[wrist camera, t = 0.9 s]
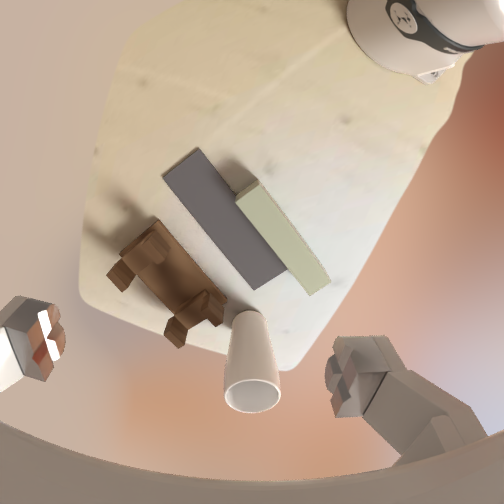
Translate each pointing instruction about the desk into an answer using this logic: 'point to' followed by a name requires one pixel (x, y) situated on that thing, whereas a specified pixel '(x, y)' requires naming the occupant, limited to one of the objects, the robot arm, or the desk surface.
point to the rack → (170, 281)
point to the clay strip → (282, 237)
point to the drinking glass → (251, 366)
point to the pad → (224, 219)
